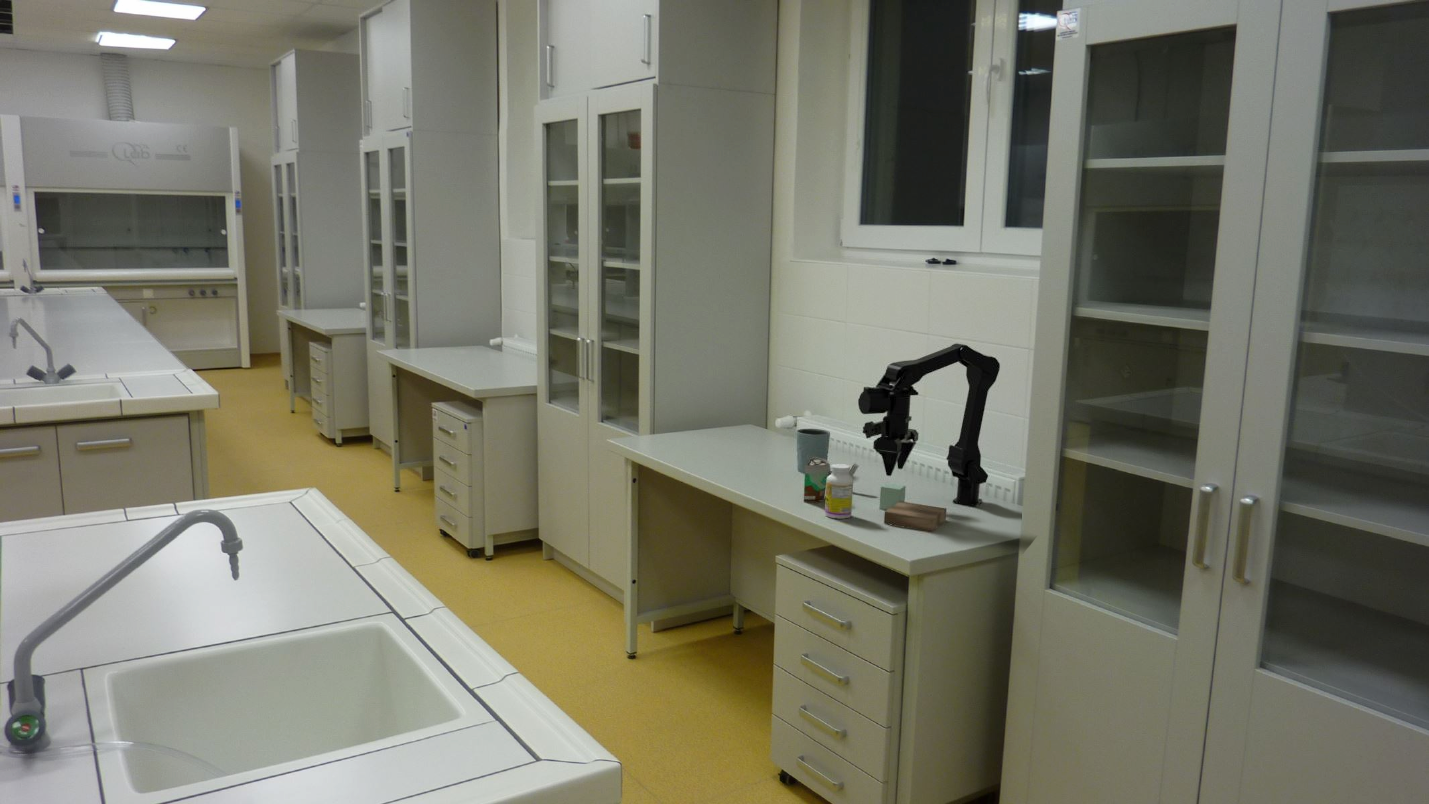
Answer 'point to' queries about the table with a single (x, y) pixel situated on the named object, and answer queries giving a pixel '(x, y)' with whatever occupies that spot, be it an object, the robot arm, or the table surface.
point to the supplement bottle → (839, 492)
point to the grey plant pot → (811, 446)
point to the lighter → (853, 469)
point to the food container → (815, 479)
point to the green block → (891, 495)
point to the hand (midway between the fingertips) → (894, 472)
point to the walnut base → (915, 516)
